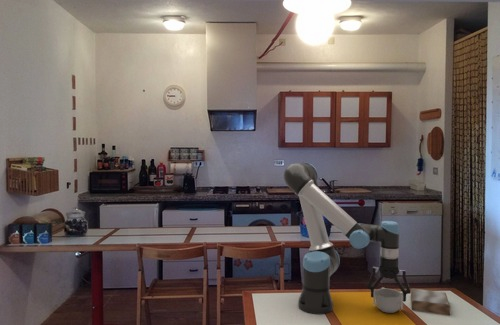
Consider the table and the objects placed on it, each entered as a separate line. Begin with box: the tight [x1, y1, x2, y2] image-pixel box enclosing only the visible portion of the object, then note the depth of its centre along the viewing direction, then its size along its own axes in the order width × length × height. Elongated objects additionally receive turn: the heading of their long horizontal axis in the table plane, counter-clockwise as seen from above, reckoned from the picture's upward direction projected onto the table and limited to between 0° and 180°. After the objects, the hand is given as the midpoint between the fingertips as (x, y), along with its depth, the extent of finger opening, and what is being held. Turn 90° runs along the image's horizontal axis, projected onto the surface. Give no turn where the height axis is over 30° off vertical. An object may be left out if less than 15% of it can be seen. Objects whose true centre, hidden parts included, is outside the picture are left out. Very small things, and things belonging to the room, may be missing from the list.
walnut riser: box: [410, 288, 451, 316], centre depth 185 cm, size 15×17×4 cm
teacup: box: [375, 287, 402, 314], centre depth 180 cm, size 14×11×8 cm
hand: (387, 306), depth 180 cm, fingers closed on teacup, 11 cm apart
